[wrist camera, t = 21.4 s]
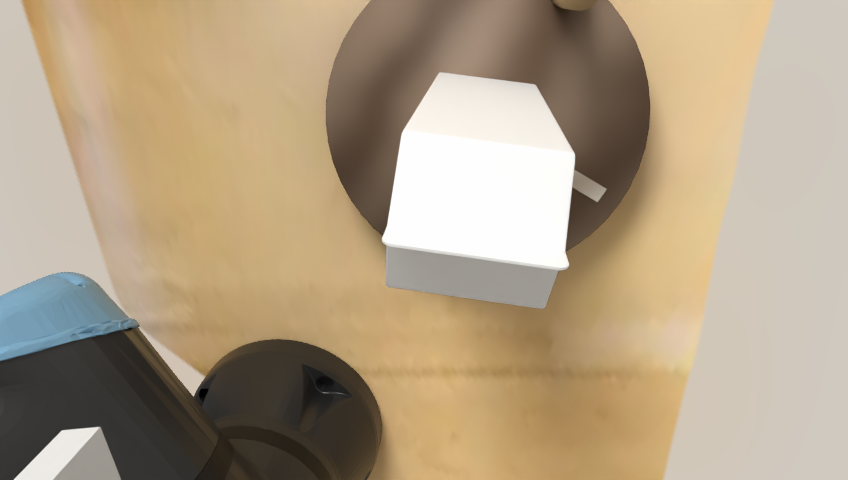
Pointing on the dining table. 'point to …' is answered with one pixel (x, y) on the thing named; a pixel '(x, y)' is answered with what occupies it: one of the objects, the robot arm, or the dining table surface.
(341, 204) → the dining table surface
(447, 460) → the dining table surface
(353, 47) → the turntable
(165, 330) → the dining table surface
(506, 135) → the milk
